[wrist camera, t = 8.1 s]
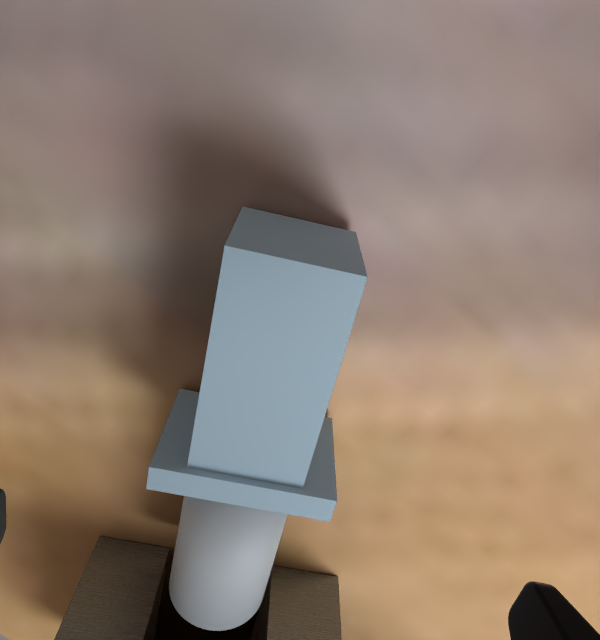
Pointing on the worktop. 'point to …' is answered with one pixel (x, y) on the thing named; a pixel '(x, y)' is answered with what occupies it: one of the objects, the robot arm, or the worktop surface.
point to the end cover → (258, 412)
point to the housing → (146, 588)
